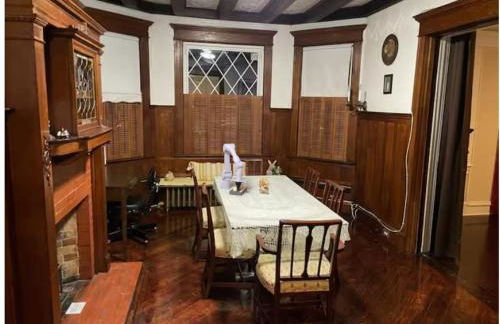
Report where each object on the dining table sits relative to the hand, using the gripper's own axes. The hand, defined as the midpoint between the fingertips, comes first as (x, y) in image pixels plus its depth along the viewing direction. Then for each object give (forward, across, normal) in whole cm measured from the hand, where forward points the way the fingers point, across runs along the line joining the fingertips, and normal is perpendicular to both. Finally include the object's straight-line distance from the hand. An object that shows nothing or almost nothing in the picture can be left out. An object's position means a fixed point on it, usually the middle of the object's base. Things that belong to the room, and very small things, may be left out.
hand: (238, 190), depth 336 cm
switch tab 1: (+1, -3, 0) cm, 3 cm away
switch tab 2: (+1, 0, +7) cm, 7 cm away
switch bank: (+4, -2, +7) cm, 8 cm away
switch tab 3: (+1, 0, +14) cm, 14 cm away
